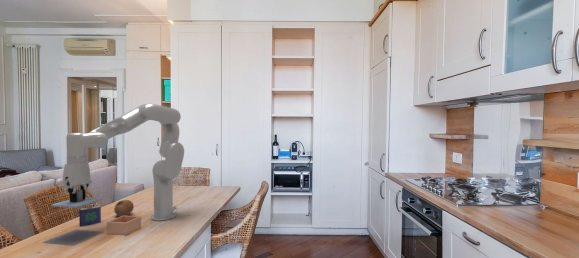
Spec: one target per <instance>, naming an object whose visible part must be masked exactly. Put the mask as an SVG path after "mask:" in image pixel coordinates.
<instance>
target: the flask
mask: <svg viewBox="0 0 579 258" xmlns="http://www.w3.org/2000/svg"><path fill="white" fill-rule="evenodd" d="M78 216H79V217H78V218H79V219H78V220H79V223H78V225H79V227H87V226H91V225H97V224H101V223H102V208H101V206H100V205H97V206H93V203H91V204H89V206H87V207H82V208H80V209H79V215H78Z"/></svg>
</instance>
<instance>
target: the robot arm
mask: <svg viewBox="0 0 579 258" xmlns="http://www.w3.org/2000/svg"><path fill="white" fill-rule="evenodd" d="M180 120H181V113H180V111H179V110H177V109H175V108H173V107H168V106H163V105H159V104H155V103H145V104H141V105H138V106H137V107H135V108H134V109H132V110H129V111H128V112H126V113H124V114H122V115H120V116H118V117H116V118H114V119H112V120H110V121H108V122H106V123H104V124H102V125H101V126H99V127H96V128H95V129H93V130H91V131H89V132H88V133H84V132H70V133H67V134H66V138H65V139H66V143H65V144H66V163H65V164H64V167H63V172H62V187H61V190H64V191H66V192H67V194H69V200H70V202H77V193H75V192H76V190H77V187H78V188H79V189H82V191H83V200H85V199H86V198H87V197H86V195H87V194H86V191H87V190H88V187H89V186H90V185H91V184H92V180H91V169H90V168H91V167H90V164H89V161H88V160H89V156H88V149H89V148H90V149H102V148H105V147H106V146H107V145H108V143H109V140H111V138H114V137H116V136H119V135H122V134H126V133H129V132H131V131H133V130H134V129H136V128H138V127H140V125H142V124H145V123H146V122H148V121H155V122H158V123H159V124H160V126H161V128H162V130H163V131H162V132H163V133H162V136H161V137H162V138H161V142H160V146H159V151H158V153H159V155H160V156H161V157H162V158H165V159H161V160H158V161H155V163H154V164H153V165H152V171H151V172H152V178H153V214H152V215H151V216H150V220H152V221H161V222H162V221H167V220H171V219H174V218H176V216H177V215H176V212H174V211H175V210H177V206H176V205H173V202H174V200H173V199H174V198H173V197H174V196H173V195H174V194H173V193H174V192H173V189H174V186H173V180H175V179H177V177H178V176H179V175H180V173H181V169H182V165H183V161H184V157H185V148H184V145H183V144H182V143H181V142H180V141H179V139H180V138H179V137H180V127H179V124H178V123H179V122H180Z"/></svg>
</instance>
